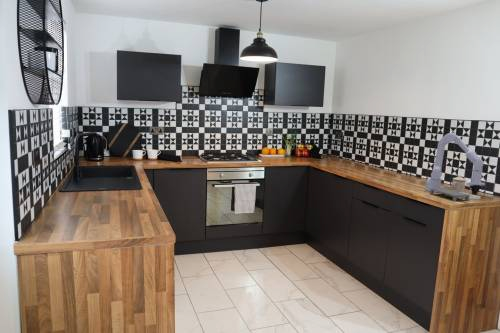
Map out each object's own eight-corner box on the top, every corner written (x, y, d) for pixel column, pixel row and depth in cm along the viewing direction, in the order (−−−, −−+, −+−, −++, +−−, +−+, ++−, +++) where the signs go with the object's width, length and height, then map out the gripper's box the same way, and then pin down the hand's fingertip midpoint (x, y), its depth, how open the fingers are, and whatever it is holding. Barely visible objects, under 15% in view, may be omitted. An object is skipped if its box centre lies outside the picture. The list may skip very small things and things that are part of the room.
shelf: (443, 193, 278) (444, 188, 277) (468, 201, 257) (469, 195, 256) (429, 194, 274) (430, 188, 274) (454, 201, 253) (455, 195, 253)
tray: (462, 194, 278) (463, 191, 278) (480, 199, 264) (480, 196, 264) (449, 194, 275) (449, 192, 275) (466, 199, 261) (466, 196, 260)
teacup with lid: (454, 189, 298) (456, 174, 296) (466, 191, 291) (468, 176, 289) (446, 190, 291) (448, 175, 289) (459, 193, 284) (461, 177, 282)
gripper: (473, 177, 264) (470, 197, 266) (489, 177, 268) (487, 196, 270) (464, 175, 271) (462, 194, 273) (481, 175, 275) (478, 194, 277)
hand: (474, 195), depth 272 cm, fingers closed
